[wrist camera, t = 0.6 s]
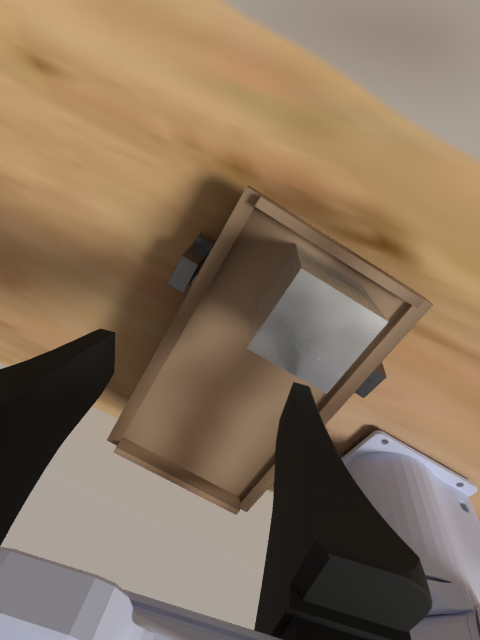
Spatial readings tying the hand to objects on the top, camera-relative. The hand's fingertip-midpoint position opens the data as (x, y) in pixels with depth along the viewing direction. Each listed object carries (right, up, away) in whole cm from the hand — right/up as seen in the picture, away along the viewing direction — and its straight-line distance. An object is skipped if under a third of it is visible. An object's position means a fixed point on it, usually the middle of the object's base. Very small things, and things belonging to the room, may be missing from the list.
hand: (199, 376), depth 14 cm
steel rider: (+5, +4, +5) cm, 8 cm away
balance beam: (+2, -1, +8) cm, 8 cm away
